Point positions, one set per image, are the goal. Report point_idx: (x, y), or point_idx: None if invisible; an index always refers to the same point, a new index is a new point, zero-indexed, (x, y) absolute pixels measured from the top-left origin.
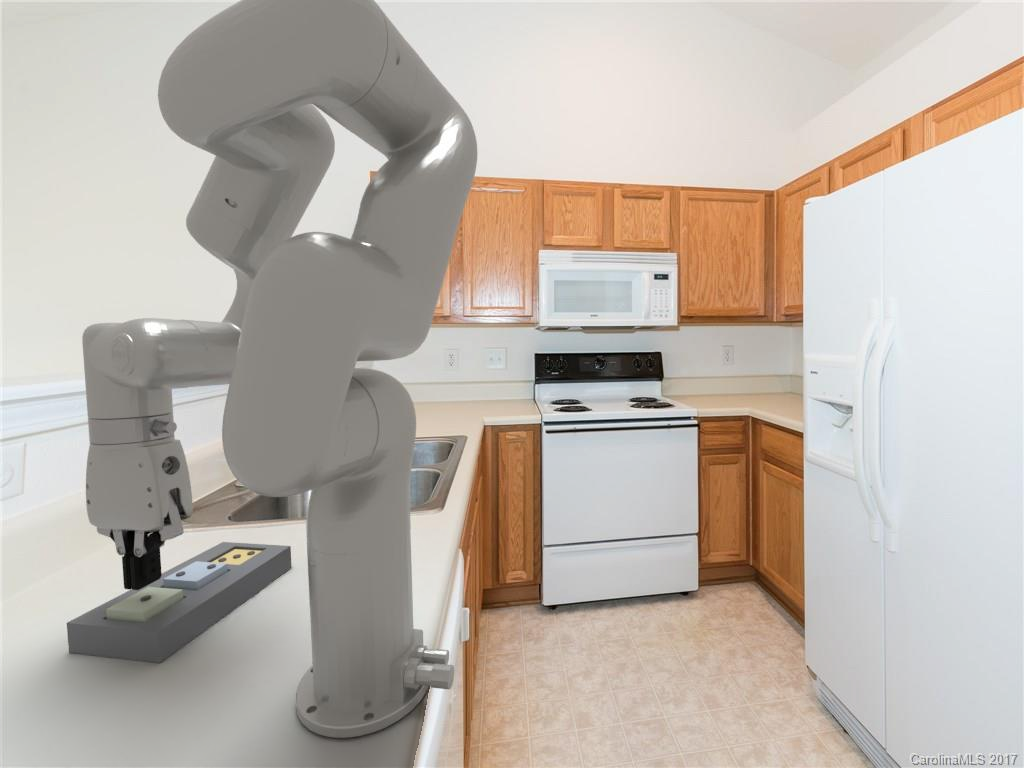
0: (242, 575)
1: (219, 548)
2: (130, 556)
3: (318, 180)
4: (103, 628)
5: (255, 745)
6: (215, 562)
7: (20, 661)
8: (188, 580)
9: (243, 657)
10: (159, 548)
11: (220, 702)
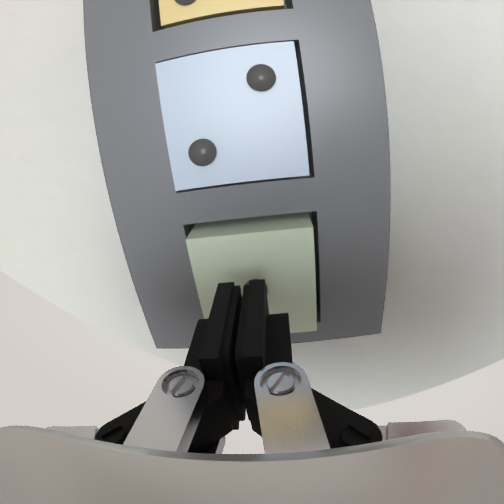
0: (373, 68)
1: None
2: (239, 417)
3: None
4: None
5: None
6: (175, 11)
7: (130, 335)
8: (274, 176)
9: (479, 251)
10: (261, 348)
11: (488, 319)
